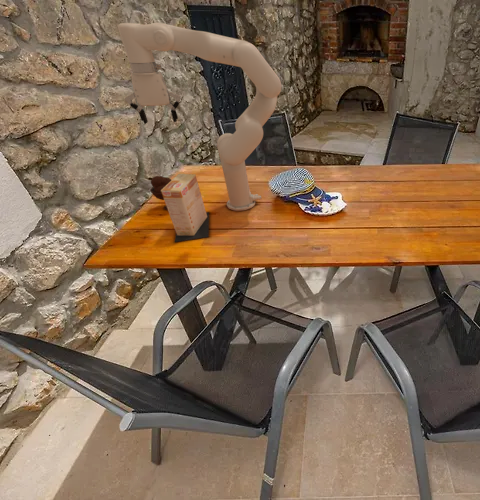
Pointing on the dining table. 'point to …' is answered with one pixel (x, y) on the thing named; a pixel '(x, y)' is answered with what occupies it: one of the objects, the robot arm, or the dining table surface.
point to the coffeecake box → (185, 204)
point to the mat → (201, 233)
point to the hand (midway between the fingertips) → (160, 121)
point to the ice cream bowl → (159, 186)
